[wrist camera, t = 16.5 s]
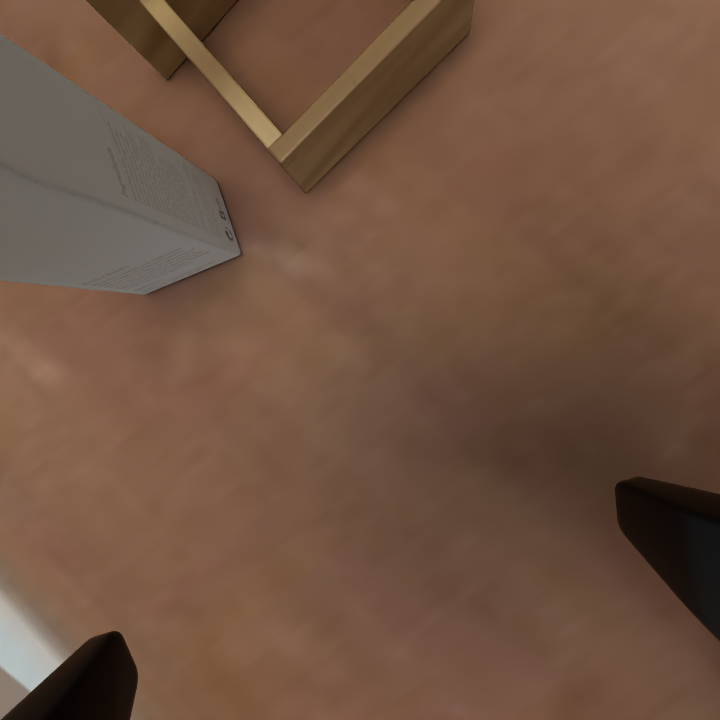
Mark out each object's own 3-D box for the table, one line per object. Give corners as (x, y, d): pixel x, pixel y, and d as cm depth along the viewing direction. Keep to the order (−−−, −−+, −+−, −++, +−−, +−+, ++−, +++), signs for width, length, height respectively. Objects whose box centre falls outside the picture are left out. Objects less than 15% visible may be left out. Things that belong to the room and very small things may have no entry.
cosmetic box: (217, 175, 20) (-88, -58, 8) (246, 260, 20) (-15, 150, 8) (114, 223, 21) (-287, 78, 9) (143, 304, 21) (-223, 263, 9)
